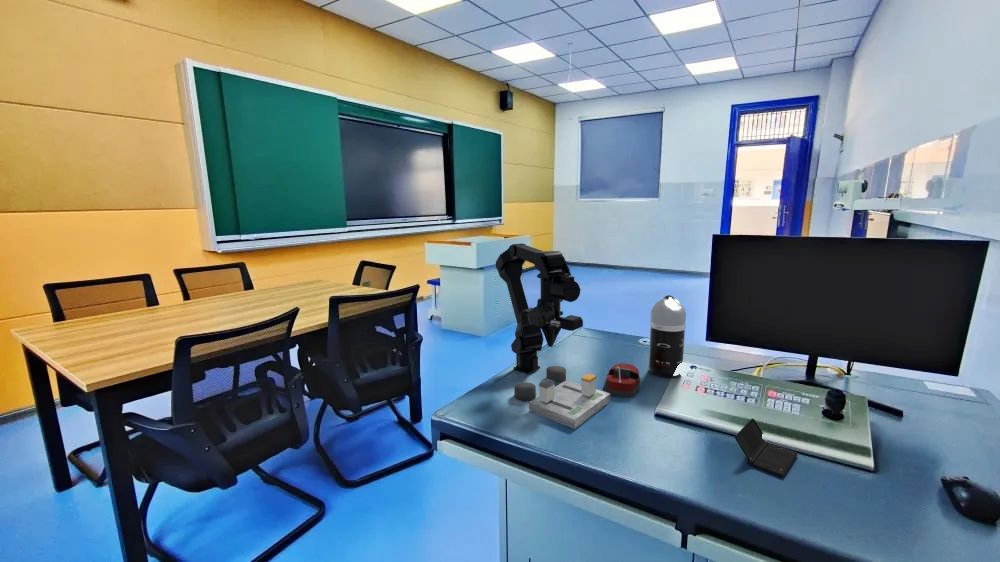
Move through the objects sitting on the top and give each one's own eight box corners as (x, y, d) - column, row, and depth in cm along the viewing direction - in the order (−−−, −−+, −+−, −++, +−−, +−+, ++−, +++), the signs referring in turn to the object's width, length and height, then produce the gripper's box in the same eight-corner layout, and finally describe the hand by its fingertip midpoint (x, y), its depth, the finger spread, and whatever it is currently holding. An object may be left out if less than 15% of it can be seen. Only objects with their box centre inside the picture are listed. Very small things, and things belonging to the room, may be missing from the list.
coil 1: (510, 397, 120) (510, 387, 120) (523, 390, 125) (523, 380, 124) (527, 403, 116) (526, 393, 116) (540, 395, 121) (540, 386, 120)
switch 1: (539, 400, 112) (539, 383, 111) (547, 395, 115) (547, 378, 114) (546, 403, 110) (546, 385, 109) (554, 398, 113) (555, 381, 112)
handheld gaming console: (796, 475, 82) (764, 425, 85) (759, 485, 86) (730, 438, 89) (800, 454, 91) (770, 410, 94) (766, 465, 95) (739, 422, 98)
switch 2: (581, 394, 115) (581, 377, 114) (588, 389, 118) (588, 373, 117) (589, 396, 113) (589, 380, 112) (596, 392, 116) (596, 375, 115)
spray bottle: (685, 370, 136) (690, 293, 131) (679, 381, 128) (684, 300, 123) (652, 364, 142) (655, 290, 137) (644, 374, 133) (647, 297, 128)
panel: (528, 411, 112) (528, 402, 112) (566, 388, 125) (566, 379, 125) (574, 429, 103) (574, 419, 102) (609, 402, 116) (610, 393, 115)
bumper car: (642, 377, 132) (644, 346, 130) (636, 405, 114) (637, 370, 112) (610, 372, 136) (611, 342, 134) (599, 399, 118) (599, 365, 116)
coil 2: (542, 379, 131) (542, 370, 131) (553, 373, 136) (553, 364, 135) (558, 384, 127) (558, 375, 127) (569, 378, 132) (569, 369, 131)
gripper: (507, 295, 123) (508, 347, 126) (562, 305, 110) (561, 362, 113) (531, 289, 131) (531, 337, 134) (584, 297, 119) (583, 350, 122)
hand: (550, 346), depth 125 cm, fingers closed
